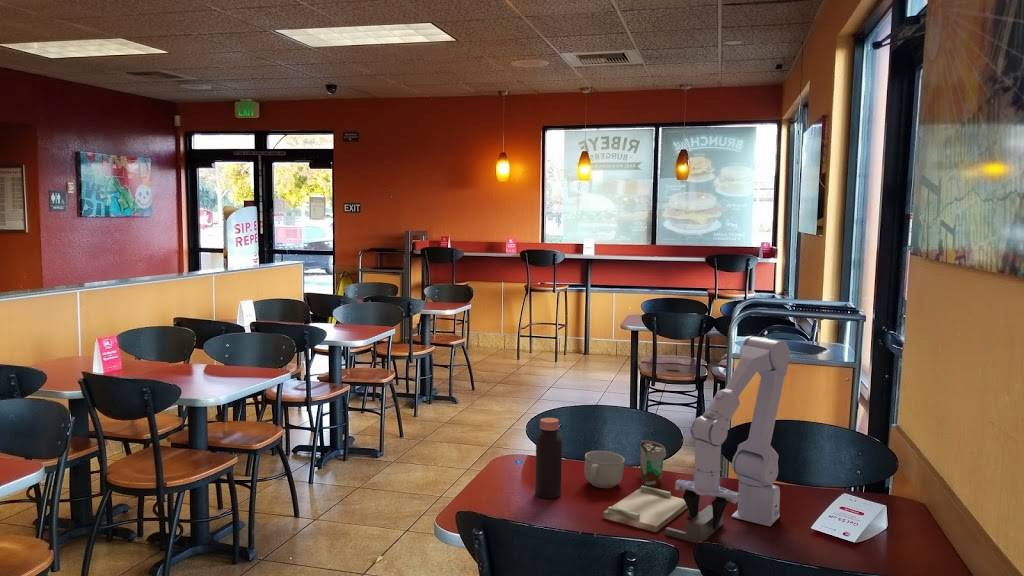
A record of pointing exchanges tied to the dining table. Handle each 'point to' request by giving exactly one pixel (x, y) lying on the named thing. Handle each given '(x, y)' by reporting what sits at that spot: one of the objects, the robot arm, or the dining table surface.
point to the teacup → (603, 468)
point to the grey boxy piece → (696, 527)
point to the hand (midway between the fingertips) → (705, 525)
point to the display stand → (646, 509)
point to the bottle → (548, 460)
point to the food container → (651, 462)
